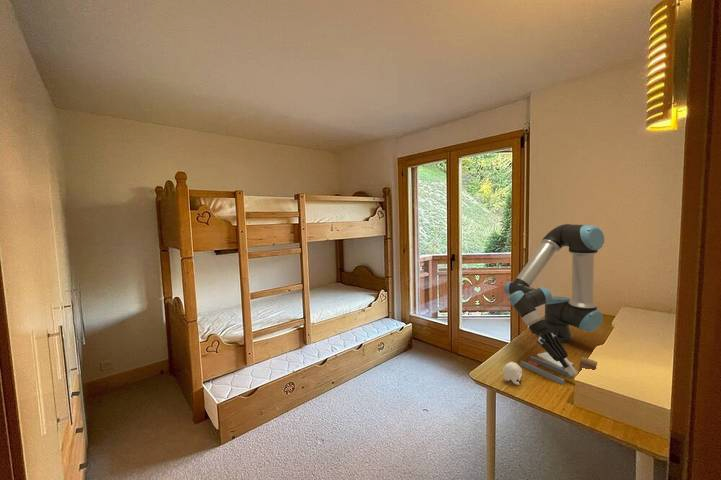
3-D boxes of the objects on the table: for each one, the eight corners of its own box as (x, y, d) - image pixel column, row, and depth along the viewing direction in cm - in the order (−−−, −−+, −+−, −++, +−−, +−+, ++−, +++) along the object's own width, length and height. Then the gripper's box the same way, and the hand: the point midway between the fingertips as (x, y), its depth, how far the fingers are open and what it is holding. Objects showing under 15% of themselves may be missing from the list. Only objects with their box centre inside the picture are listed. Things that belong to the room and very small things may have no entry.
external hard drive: (561, 370, 134) (536, 357, 145) (573, 366, 136) (549, 354, 148) (561, 366, 133) (537, 353, 145) (574, 363, 136) (549, 351, 148)
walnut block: (577, 380, 124) (582, 356, 122) (592, 386, 120) (597, 361, 118) (575, 385, 120) (580, 361, 118) (590, 391, 117) (595, 366, 115)
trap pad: (530, 361, 140) (530, 360, 140) (539, 365, 137) (539, 364, 136) (523, 364, 137) (523, 363, 137) (532, 368, 134) (532, 367, 134)
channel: (531, 359, 142) (531, 355, 141) (573, 378, 126) (574, 373, 126) (520, 365, 137) (520, 361, 136) (562, 384, 121) (563, 380, 121)
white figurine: (502, 362, 123) (511, 354, 132) (500, 381, 123) (510, 373, 132) (518, 367, 119) (527, 359, 127) (517, 388, 119) (525, 378, 127)
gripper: (536, 323, 140) (574, 373, 128) (521, 329, 133) (558, 382, 121) (549, 316, 135) (589, 367, 122) (533, 321, 128) (574, 376, 116)
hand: (574, 374), depth 122 cm, fingers closed
